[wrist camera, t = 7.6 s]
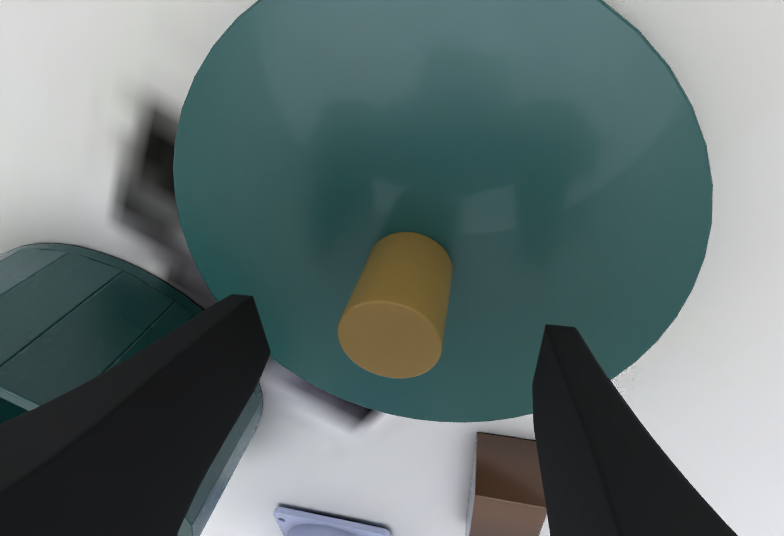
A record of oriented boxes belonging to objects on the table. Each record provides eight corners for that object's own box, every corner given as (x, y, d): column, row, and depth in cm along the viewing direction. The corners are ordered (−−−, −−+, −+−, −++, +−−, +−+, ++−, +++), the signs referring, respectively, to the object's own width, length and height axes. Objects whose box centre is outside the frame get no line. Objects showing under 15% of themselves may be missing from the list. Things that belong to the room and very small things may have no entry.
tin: (288, 461, 23) (235, 584, 19) (84, 424, 26) (-8, 522, 21) (212, 254, 15) (82, 380, 10) (-74, 232, 18) (-281, 324, 13)
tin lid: (609, 424, 16) (641, 544, 13) (258, 375, 19) (206, 461, 16) (832, -87, 7) (1142, -150, 4) (111, -27, 10) (-83, -31, 7)
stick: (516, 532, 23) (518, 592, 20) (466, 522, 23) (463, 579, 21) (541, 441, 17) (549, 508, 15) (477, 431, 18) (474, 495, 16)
